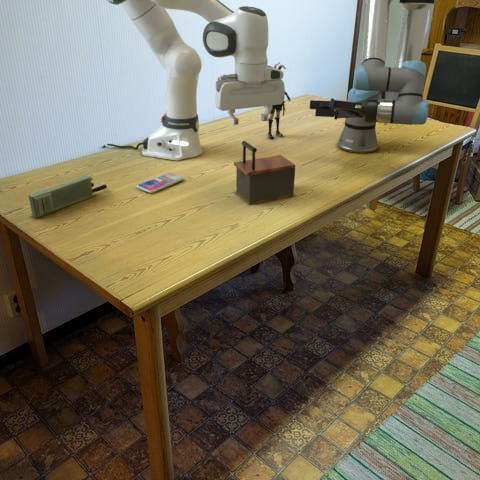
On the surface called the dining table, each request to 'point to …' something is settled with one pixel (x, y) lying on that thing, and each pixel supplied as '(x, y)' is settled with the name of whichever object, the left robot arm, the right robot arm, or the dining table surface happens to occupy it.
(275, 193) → the chest
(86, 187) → the handheld radio
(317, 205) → the dining table surface
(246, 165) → the lid
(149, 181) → the smartphone
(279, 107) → the figurine
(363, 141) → the right robot arm
